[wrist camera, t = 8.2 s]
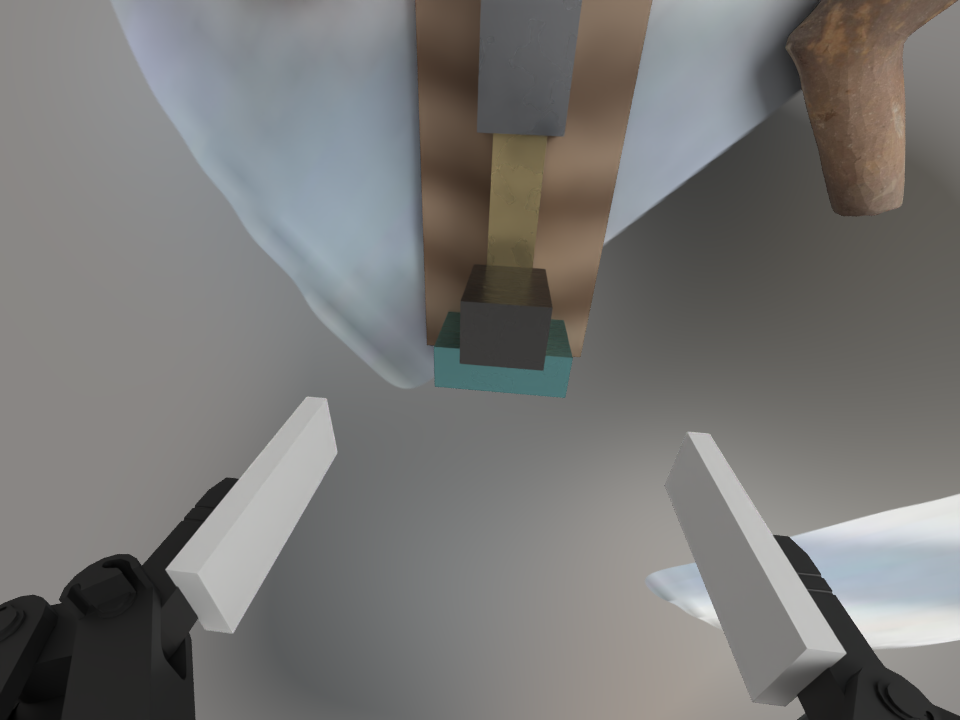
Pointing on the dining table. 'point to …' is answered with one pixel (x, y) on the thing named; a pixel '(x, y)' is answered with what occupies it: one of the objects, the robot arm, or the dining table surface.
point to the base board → (567, 168)
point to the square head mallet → (509, 266)
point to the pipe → (859, 95)
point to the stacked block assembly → (525, 111)
